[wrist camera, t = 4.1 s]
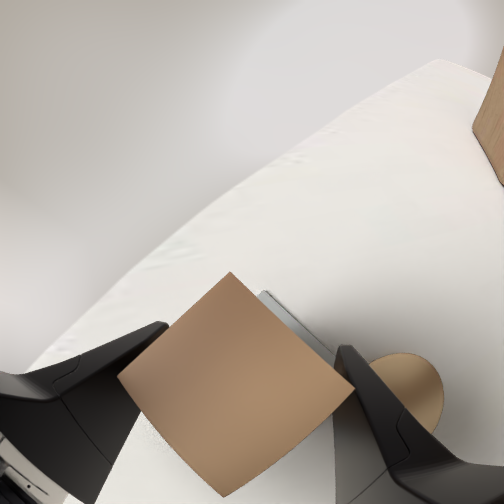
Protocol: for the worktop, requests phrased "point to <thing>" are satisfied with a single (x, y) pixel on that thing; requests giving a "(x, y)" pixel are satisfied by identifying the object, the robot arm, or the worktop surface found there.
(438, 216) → the worktop surface
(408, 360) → the cork coaster
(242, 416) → the walnut block
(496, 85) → the block
